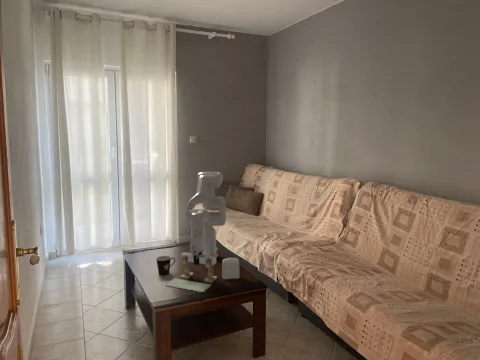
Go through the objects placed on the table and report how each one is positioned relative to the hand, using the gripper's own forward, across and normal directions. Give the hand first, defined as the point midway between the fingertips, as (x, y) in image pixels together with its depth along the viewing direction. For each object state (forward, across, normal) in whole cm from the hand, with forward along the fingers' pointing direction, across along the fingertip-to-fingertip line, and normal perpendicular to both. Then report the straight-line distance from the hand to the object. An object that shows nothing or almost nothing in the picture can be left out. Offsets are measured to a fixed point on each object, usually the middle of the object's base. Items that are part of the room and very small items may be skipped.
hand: (198, 262), depth 212 cm
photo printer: (+10, -7, +18) cm, 22 cm away
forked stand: (+9, 0, 0) cm, 9 cm away
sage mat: (+9, +12, 0) cm, 15 cm away
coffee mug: (+9, +1, -22) cm, 24 cm away
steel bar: (-1, 0, 0) cm, 1 cm away
